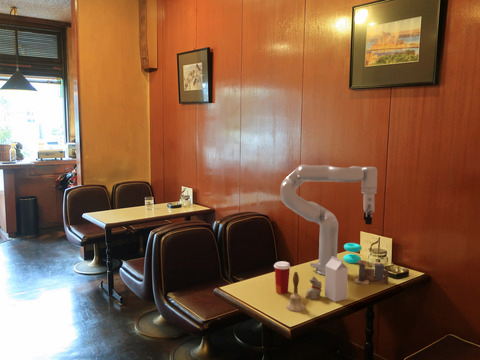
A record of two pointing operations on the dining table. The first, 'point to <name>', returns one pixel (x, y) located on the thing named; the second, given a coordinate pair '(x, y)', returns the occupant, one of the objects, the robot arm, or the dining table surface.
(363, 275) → the bobbin
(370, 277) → the notch board
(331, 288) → the milk carton
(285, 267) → the paper cup
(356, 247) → the donuts
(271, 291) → the dining table surface
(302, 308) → the hand bell
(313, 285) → the chocolate bunny
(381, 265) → the dark upright block
